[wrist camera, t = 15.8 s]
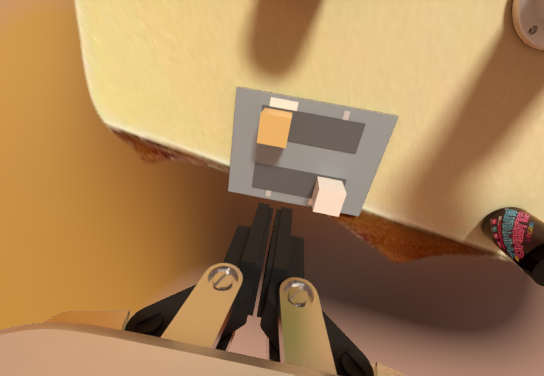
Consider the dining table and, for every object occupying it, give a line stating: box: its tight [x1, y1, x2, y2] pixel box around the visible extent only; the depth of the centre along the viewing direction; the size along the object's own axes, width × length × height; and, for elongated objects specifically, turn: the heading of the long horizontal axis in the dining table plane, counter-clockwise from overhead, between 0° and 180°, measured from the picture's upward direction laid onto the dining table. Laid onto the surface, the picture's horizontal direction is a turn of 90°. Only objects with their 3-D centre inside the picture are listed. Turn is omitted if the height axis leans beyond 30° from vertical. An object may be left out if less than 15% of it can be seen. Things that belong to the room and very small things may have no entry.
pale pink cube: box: [312, 176, 346, 217], centre depth 37 cm, size 4×4×4 cm
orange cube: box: [257, 108, 293, 148], centre depth 33 cm, size 4×4×4 cm
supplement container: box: [482, 207, 544, 286], centre depth 35 cm, size 7×7×10 cm
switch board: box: [228, 87, 398, 216], centre depth 38 cm, size 23×17×1 cm
